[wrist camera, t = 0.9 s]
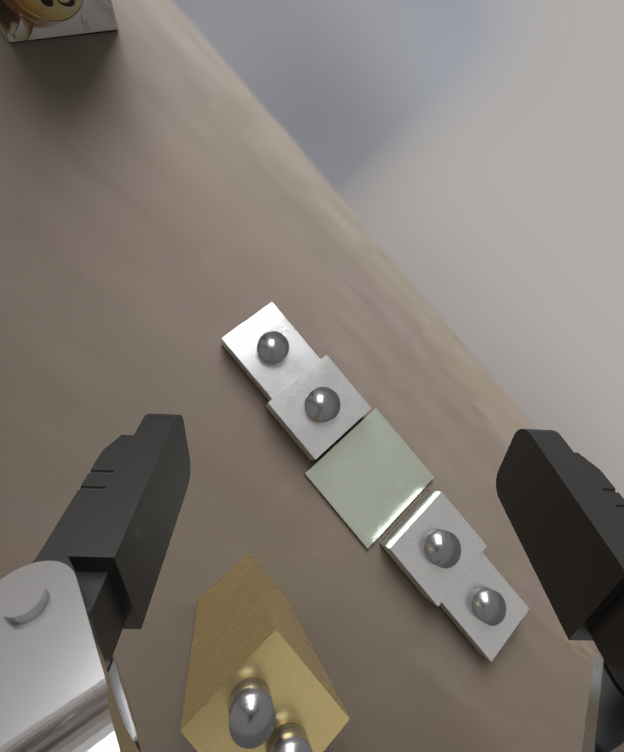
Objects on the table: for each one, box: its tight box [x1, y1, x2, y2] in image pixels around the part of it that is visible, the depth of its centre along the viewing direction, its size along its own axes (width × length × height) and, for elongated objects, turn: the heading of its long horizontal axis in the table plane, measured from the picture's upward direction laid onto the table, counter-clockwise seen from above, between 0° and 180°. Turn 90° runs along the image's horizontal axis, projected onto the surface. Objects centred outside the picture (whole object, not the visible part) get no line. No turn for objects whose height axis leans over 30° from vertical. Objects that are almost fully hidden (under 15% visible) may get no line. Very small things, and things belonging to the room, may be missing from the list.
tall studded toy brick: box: [180, 553, 350, 752], centre depth 21 cm, size 4×4×15 cm
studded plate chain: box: [221, 302, 529, 662], centre depth 31 cm, size 32×8×3 cm, turn 41°
